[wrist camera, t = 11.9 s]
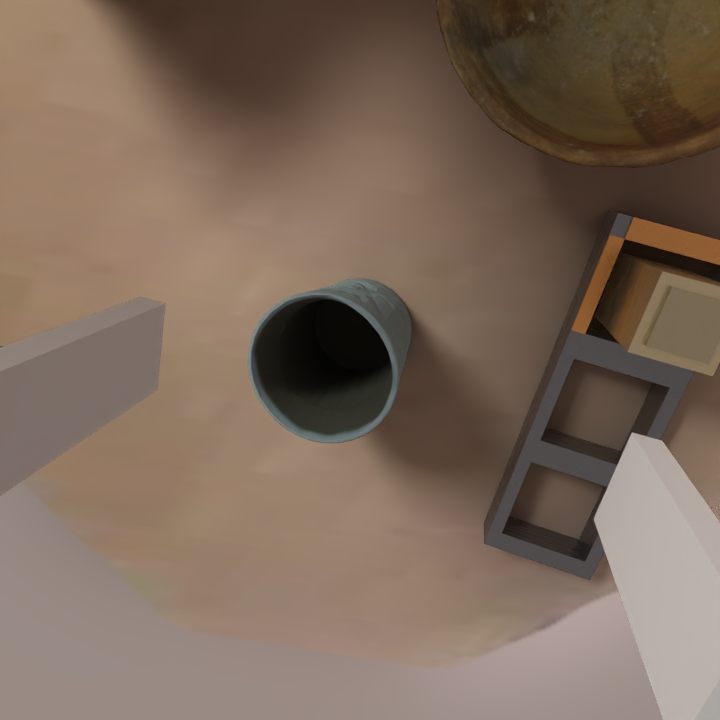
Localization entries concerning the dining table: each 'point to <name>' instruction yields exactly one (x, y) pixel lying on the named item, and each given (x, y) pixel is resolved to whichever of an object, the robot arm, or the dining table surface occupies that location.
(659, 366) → the grey compartment tray
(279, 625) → the dining table surface
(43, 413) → the robot arm
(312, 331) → the grey-green cup
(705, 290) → the beige recessed-panel block
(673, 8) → the bowl
